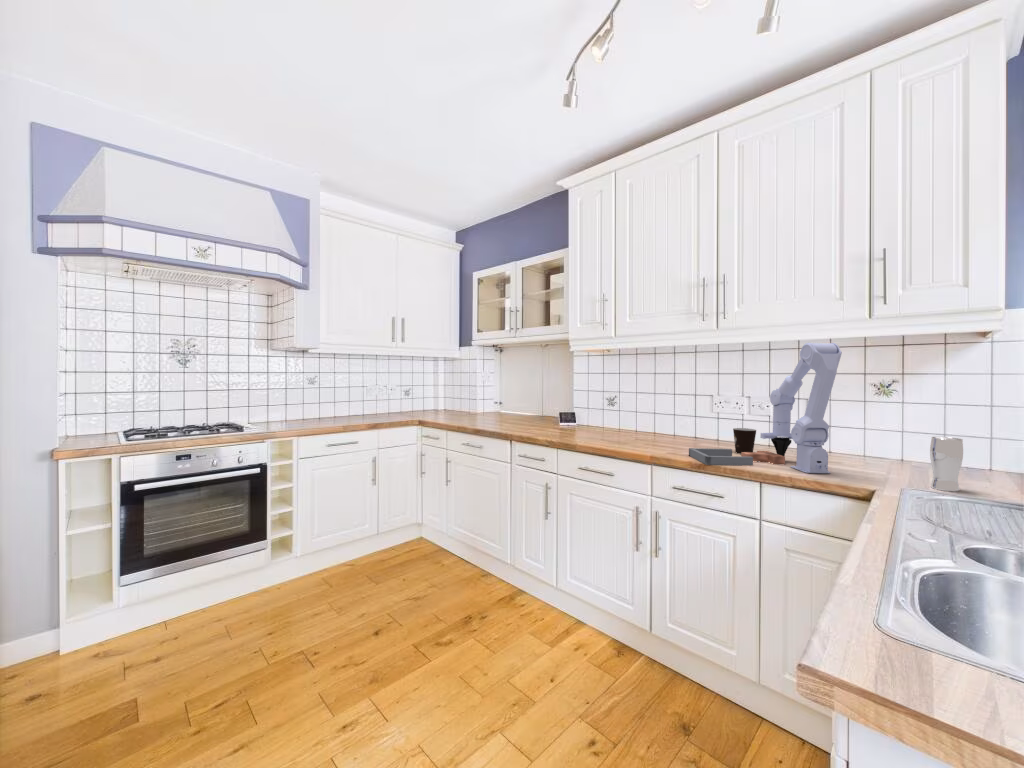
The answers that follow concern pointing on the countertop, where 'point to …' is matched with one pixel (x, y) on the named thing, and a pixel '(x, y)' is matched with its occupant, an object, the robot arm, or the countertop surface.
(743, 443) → the coffee mug
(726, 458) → the dock
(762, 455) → the t block
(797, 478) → the countertop surface
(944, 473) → the beer glass
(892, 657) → the countertop surface
